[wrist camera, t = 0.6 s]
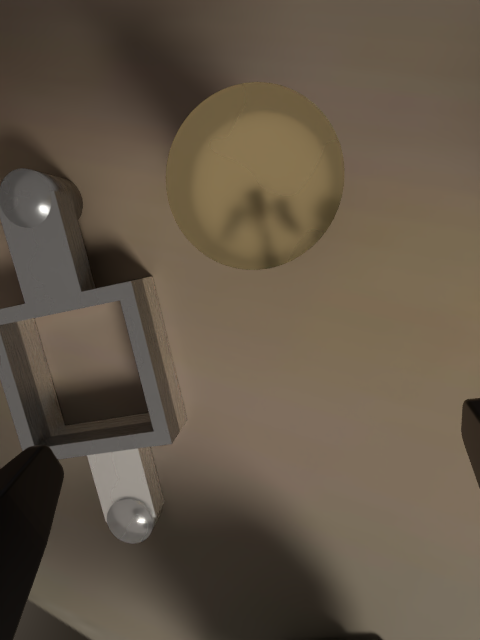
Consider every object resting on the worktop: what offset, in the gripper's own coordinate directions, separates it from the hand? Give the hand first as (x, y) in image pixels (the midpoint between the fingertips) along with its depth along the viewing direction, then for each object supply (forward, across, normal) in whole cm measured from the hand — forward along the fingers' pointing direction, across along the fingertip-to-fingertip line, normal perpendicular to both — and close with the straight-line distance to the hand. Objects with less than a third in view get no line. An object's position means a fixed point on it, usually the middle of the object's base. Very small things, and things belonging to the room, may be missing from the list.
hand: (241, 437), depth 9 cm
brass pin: (+15, -1, 0) cm, 15 cm away
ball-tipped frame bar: (+13, +11, +6) cm, 18 cm away
